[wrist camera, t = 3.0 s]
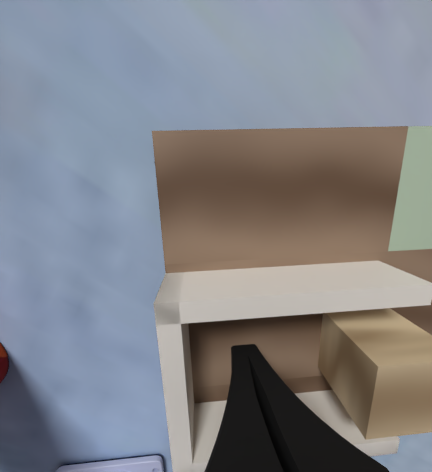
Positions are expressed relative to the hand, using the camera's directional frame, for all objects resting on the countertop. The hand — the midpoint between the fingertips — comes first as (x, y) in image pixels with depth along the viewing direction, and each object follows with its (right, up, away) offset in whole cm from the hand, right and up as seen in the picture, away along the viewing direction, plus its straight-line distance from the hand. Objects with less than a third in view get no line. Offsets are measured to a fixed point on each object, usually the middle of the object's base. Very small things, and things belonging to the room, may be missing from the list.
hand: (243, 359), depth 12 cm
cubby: (+2, 0, +1) cm, 2 cm away
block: (+7, +1, +1) cm, 7 cm away
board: (+9, +5, +3) cm, 10 cm away
